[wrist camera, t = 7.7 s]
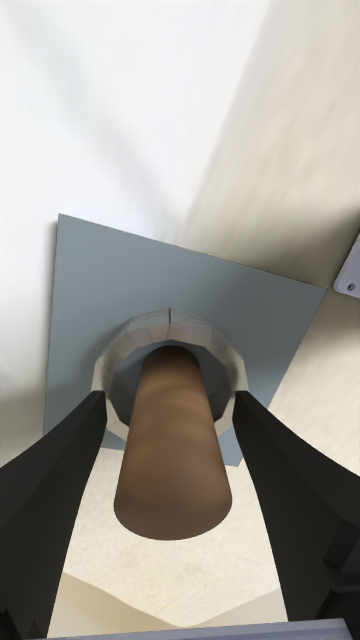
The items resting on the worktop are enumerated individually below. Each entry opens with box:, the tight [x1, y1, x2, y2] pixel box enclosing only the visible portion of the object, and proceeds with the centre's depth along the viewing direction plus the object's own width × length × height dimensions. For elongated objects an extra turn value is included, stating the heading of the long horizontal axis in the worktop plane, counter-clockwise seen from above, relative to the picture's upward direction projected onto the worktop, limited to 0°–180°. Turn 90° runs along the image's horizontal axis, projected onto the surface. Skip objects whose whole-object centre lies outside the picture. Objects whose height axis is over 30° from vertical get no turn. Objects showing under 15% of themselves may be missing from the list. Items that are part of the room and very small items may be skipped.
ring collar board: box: [43, 213, 328, 467], centre depth 14 cm, size 16×16×4 cm
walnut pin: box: [114, 345, 232, 540], centre depth 11 cm, size 4×4×8 cm
